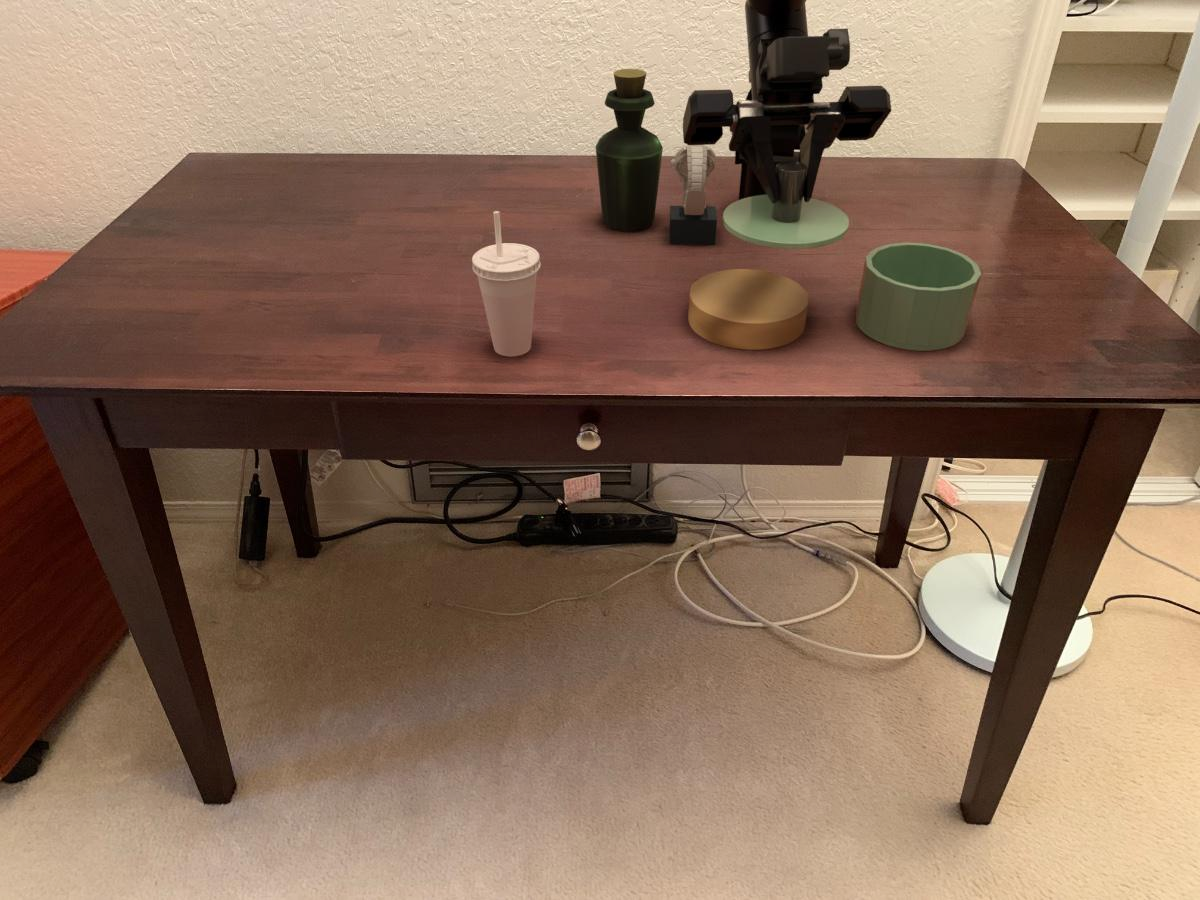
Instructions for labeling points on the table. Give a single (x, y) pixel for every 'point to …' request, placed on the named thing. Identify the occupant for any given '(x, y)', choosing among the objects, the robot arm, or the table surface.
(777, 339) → the disc
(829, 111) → the robot arm
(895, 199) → the table surface
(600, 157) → the potion bottle
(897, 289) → the green round open container
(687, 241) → the watch
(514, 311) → the smoothie
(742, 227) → the lid
